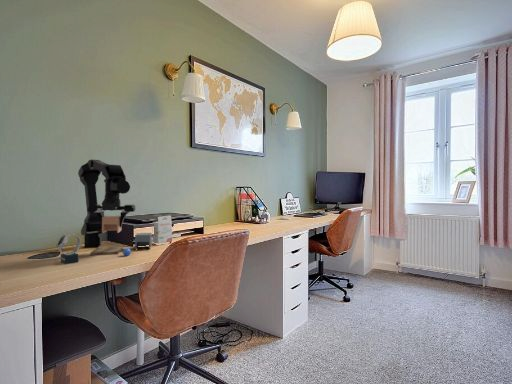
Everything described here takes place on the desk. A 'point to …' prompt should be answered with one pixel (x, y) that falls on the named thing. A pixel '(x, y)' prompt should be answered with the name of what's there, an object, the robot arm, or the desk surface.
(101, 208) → the robot arm
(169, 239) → the ink cartridge box
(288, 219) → the desk surface
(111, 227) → the tan open box
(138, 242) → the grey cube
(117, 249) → the walnut mat
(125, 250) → the blue marble
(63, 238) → the watch
